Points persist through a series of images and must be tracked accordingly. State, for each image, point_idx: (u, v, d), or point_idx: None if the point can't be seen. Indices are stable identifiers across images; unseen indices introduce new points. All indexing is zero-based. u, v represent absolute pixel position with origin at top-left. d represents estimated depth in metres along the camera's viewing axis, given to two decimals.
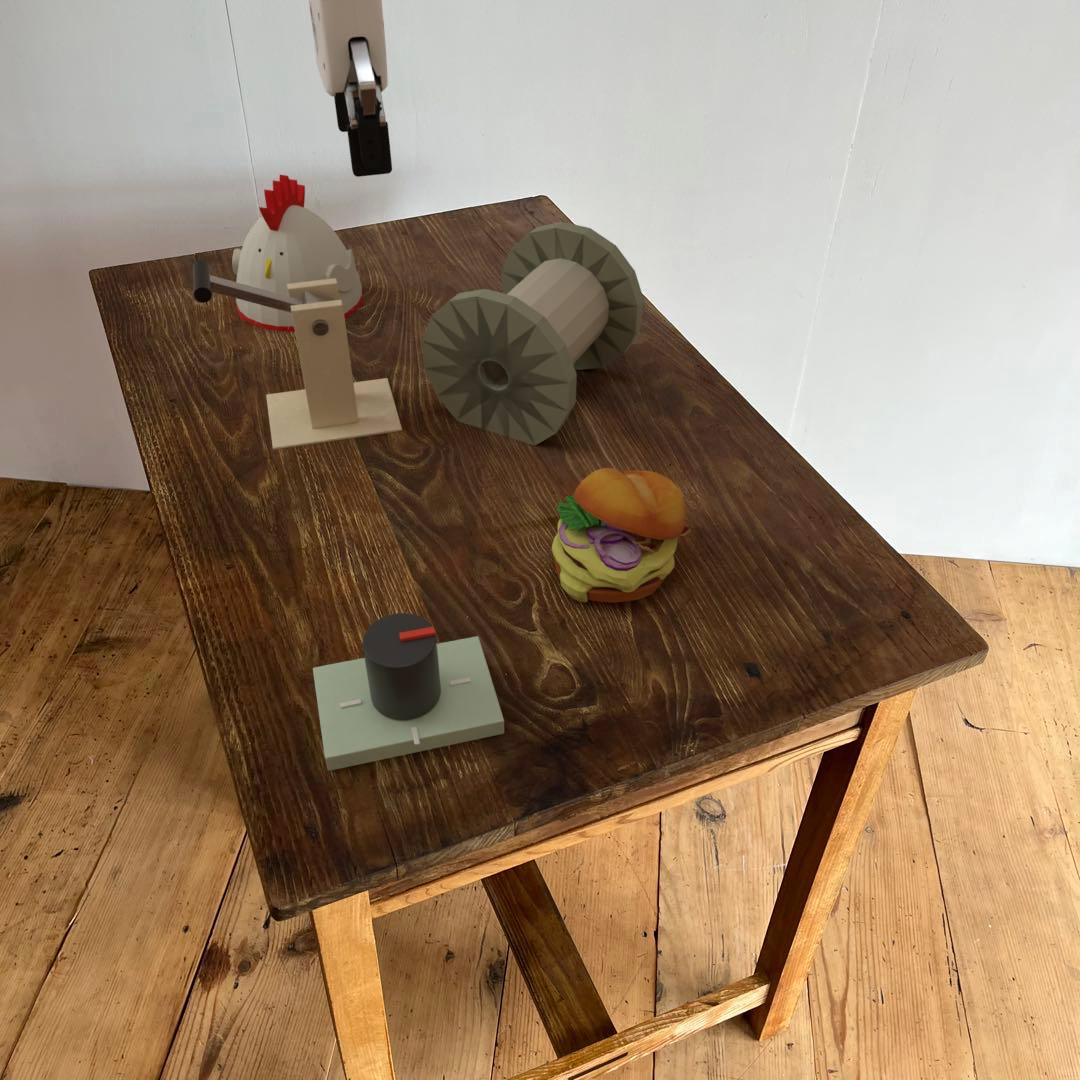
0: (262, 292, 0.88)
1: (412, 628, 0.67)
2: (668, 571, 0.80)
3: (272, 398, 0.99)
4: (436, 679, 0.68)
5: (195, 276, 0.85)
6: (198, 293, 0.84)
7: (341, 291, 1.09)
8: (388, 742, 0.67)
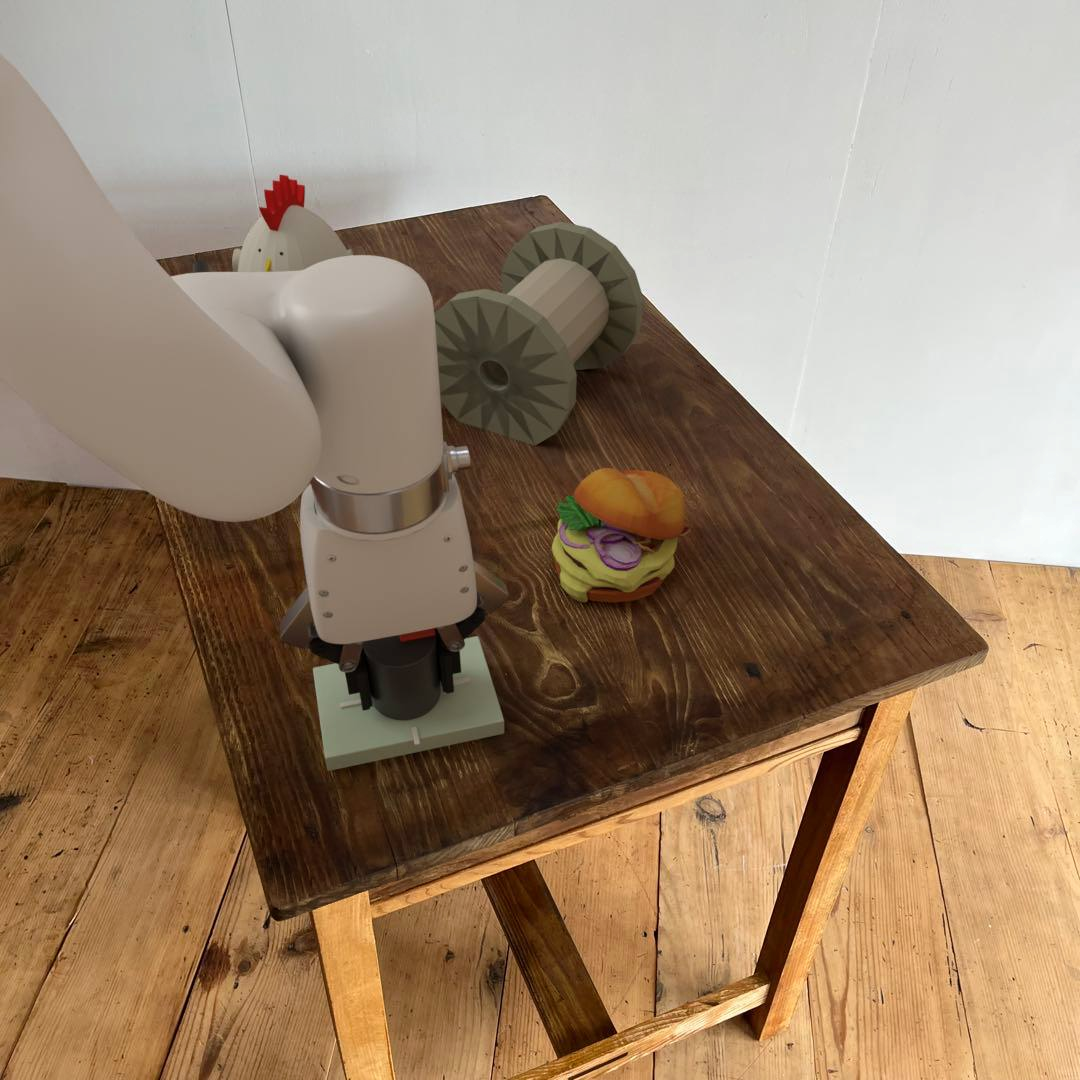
0: None
1: None
2: (668, 571, 0.80)
3: None
4: (436, 679, 0.68)
5: None
6: None
7: None
8: (388, 742, 0.67)
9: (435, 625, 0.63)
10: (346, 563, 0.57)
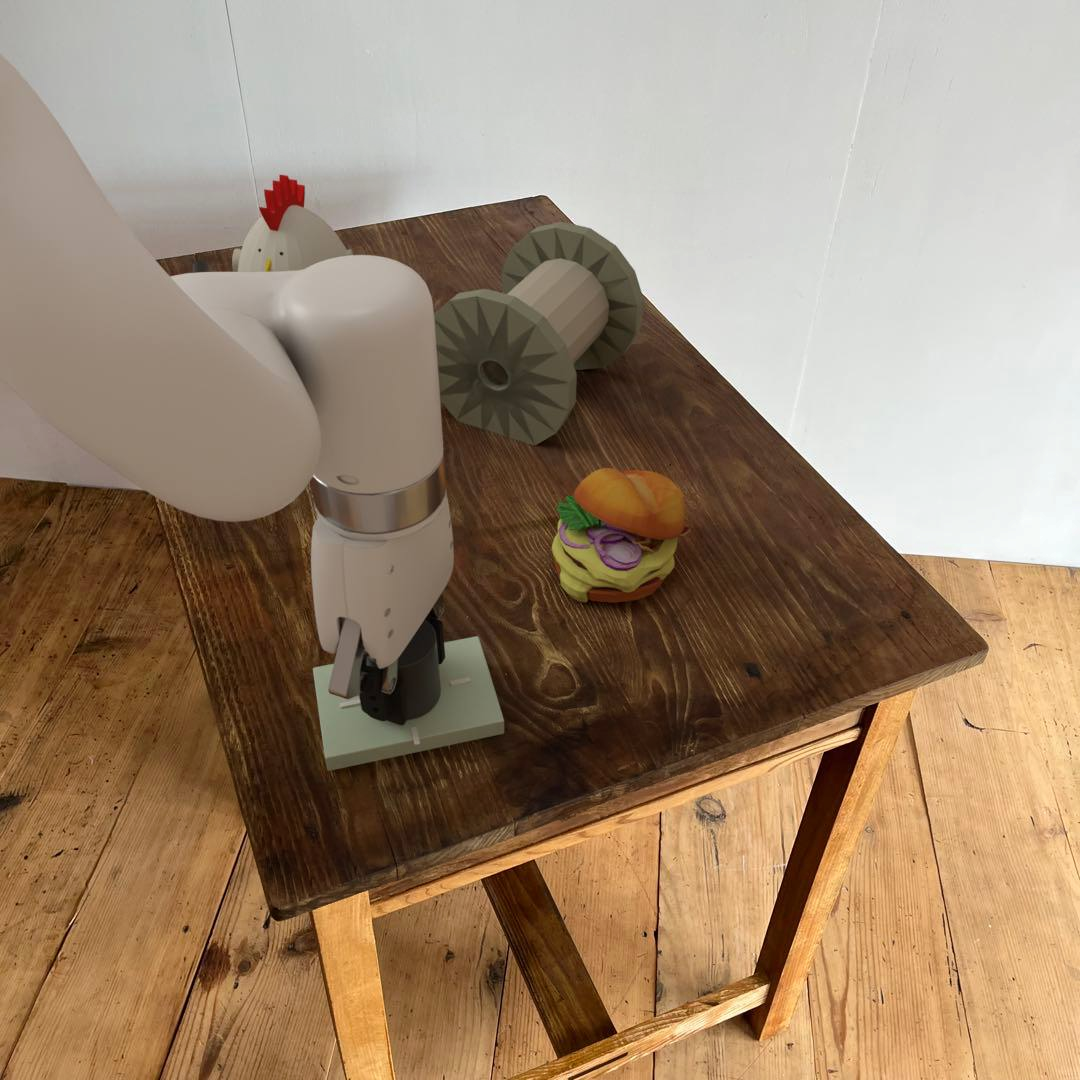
0: None
1: None
2: (668, 571, 0.80)
3: None
4: None
5: None
6: None
7: None
8: (388, 742, 0.67)
9: (439, 594, 0.65)
10: (400, 567, 0.57)
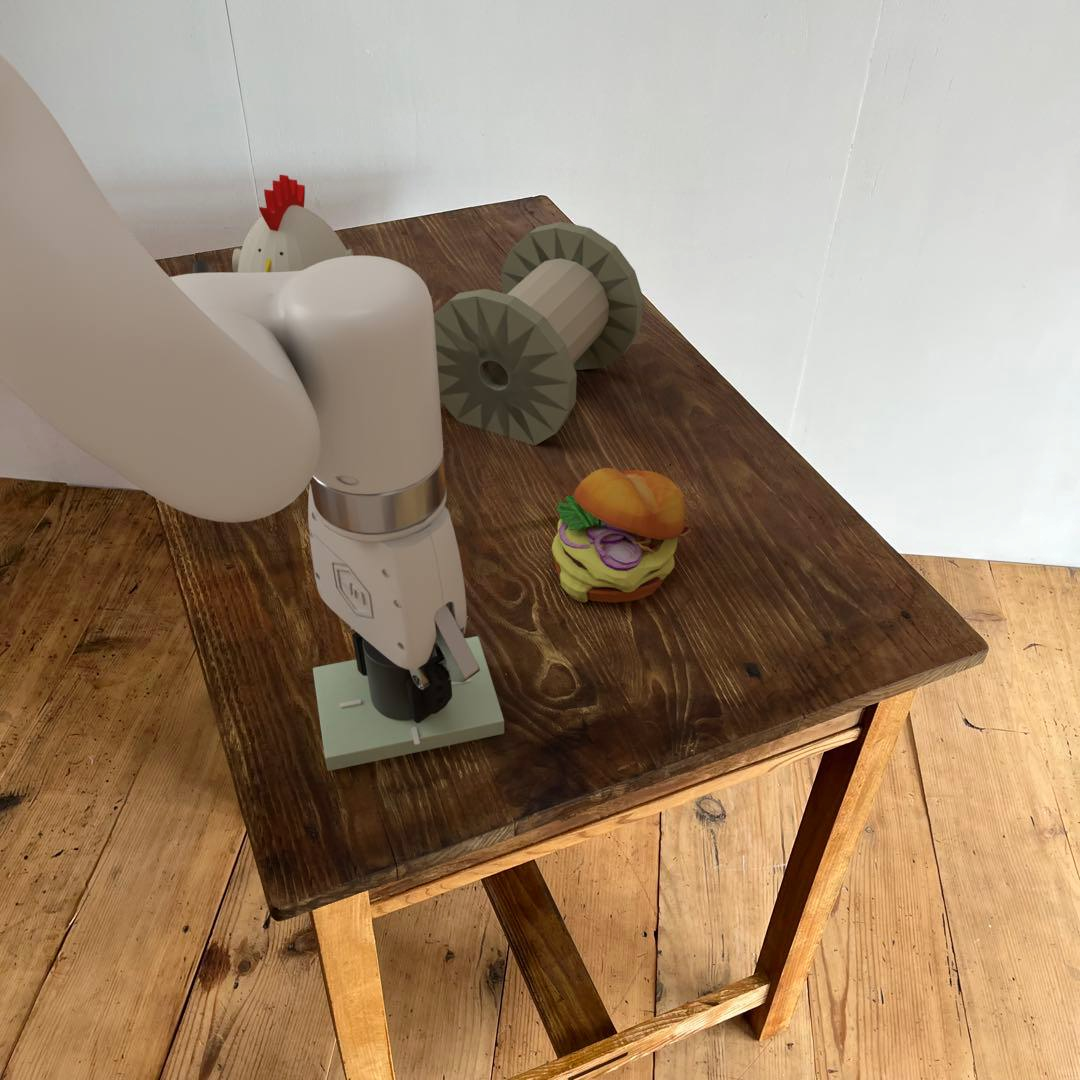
0: None
1: None
2: (668, 571, 0.80)
3: None
4: None
5: None
6: None
7: None
8: (388, 742, 0.67)
9: None
10: None
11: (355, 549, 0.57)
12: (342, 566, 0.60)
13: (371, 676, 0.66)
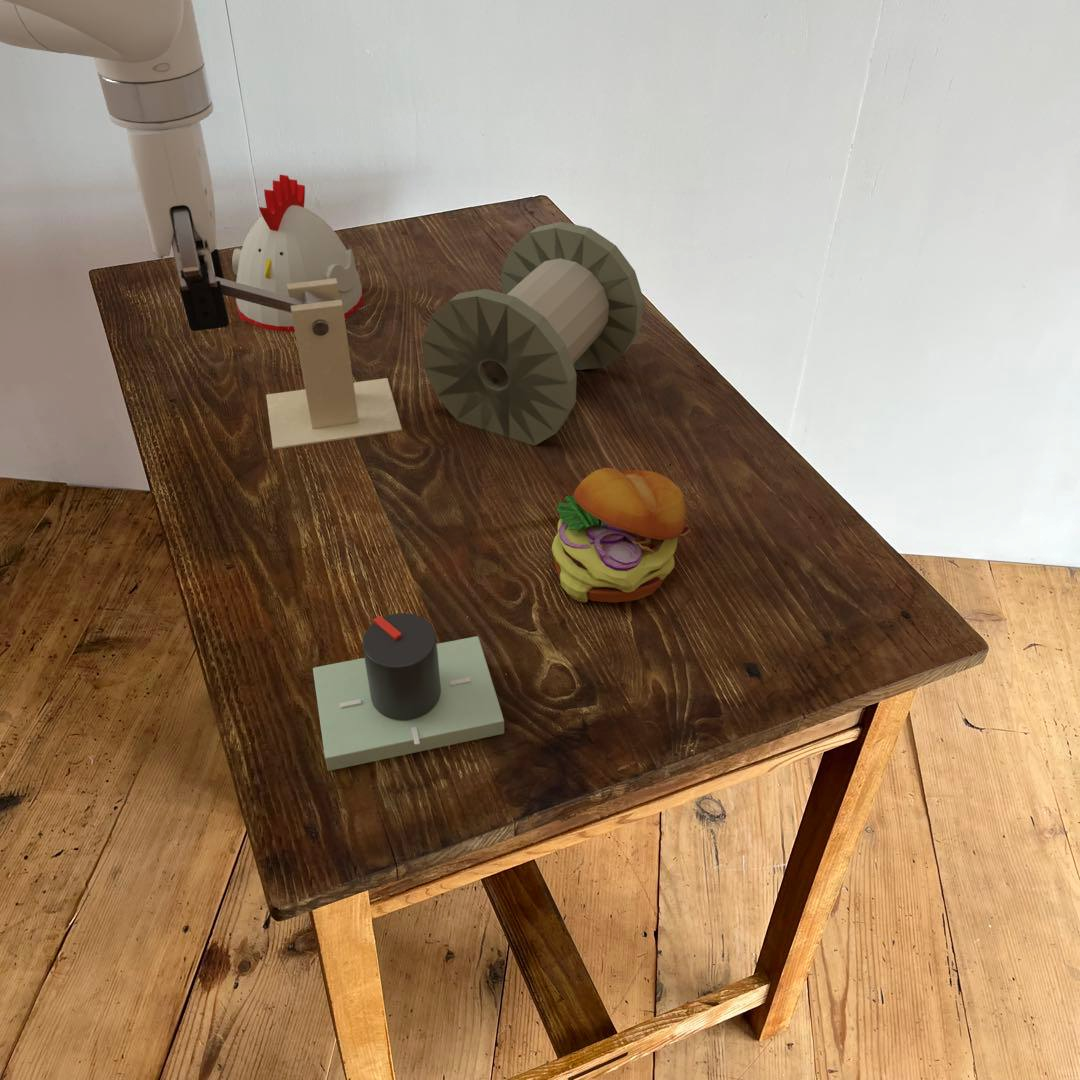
0: (262, 292, 0.88)
1: (381, 636, 0.66)
2: (668, 571, 0.80)
3: (272, 398, 0.99)
4: None
5: None
6: None
7: (341, 291, 1.09)
8: (388, 742, 0.67)
9: None
10: (201, 154, 0.77)
11: None
12: None
13: (371, 676, 0.66)
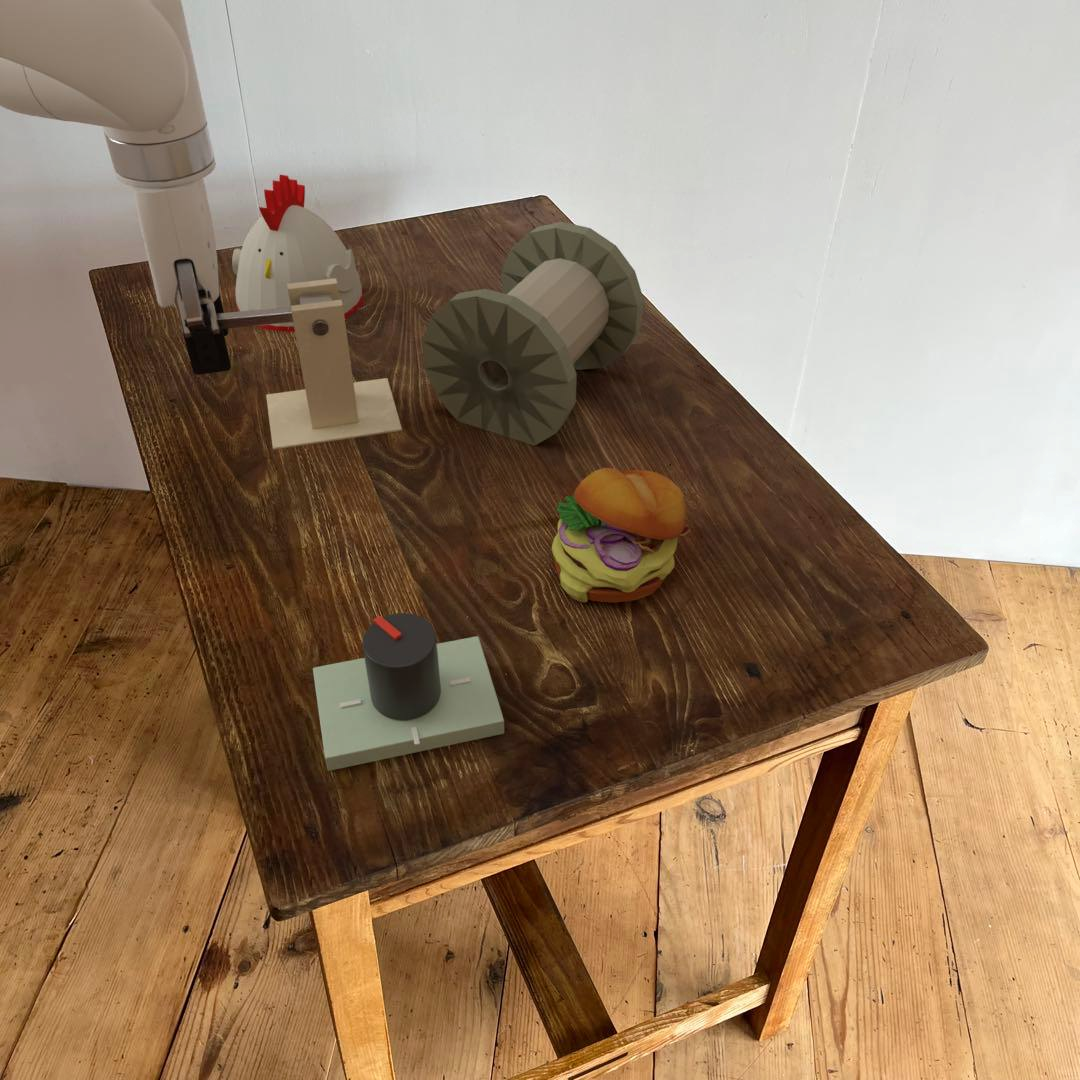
0: (258, 313, 0.89)
1: (381, 636, 0.66)
2: (668, 571, 0.80)
3: (272, 398, 0.99)
4: None
5: None
6: None
7: (341, 291, 1.09)
8: (388, 742, 0.67)
9: None
10: (204, 208, 0.79)
11: None
12: None
13: (371, 676, 0.66)
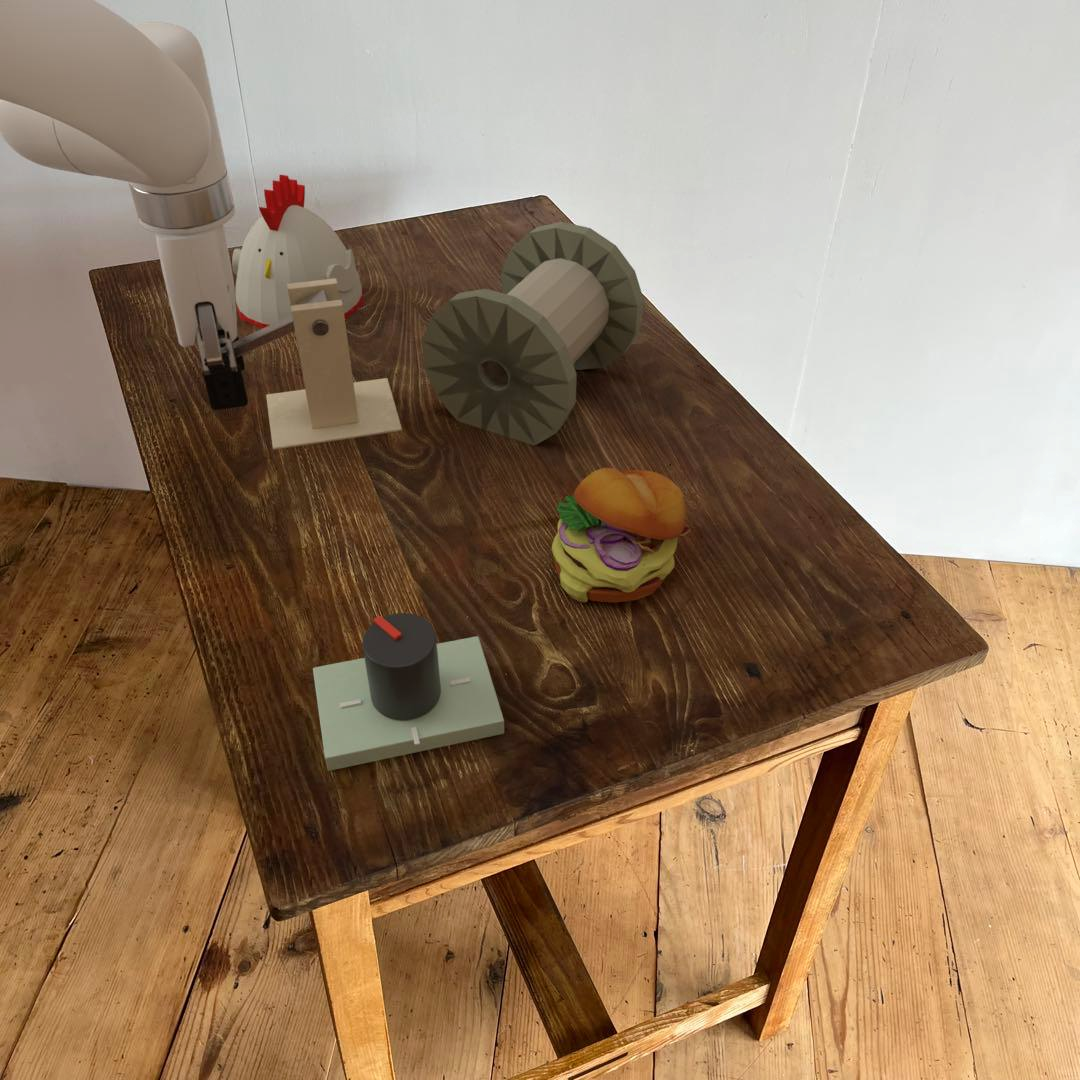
0: (263, 332, 0.90)
1: (381, 636, 0.66)
2: (668, 571, 0.80)
3: (272, 398, 0.99)
4: None
5: None
6: None
7: (341, 291, 1.09)
8: (388, 742, 0.67)
9: None
10: (224, 253, 0.82)
11: None
12: None
13: (371, 676, 0.66)
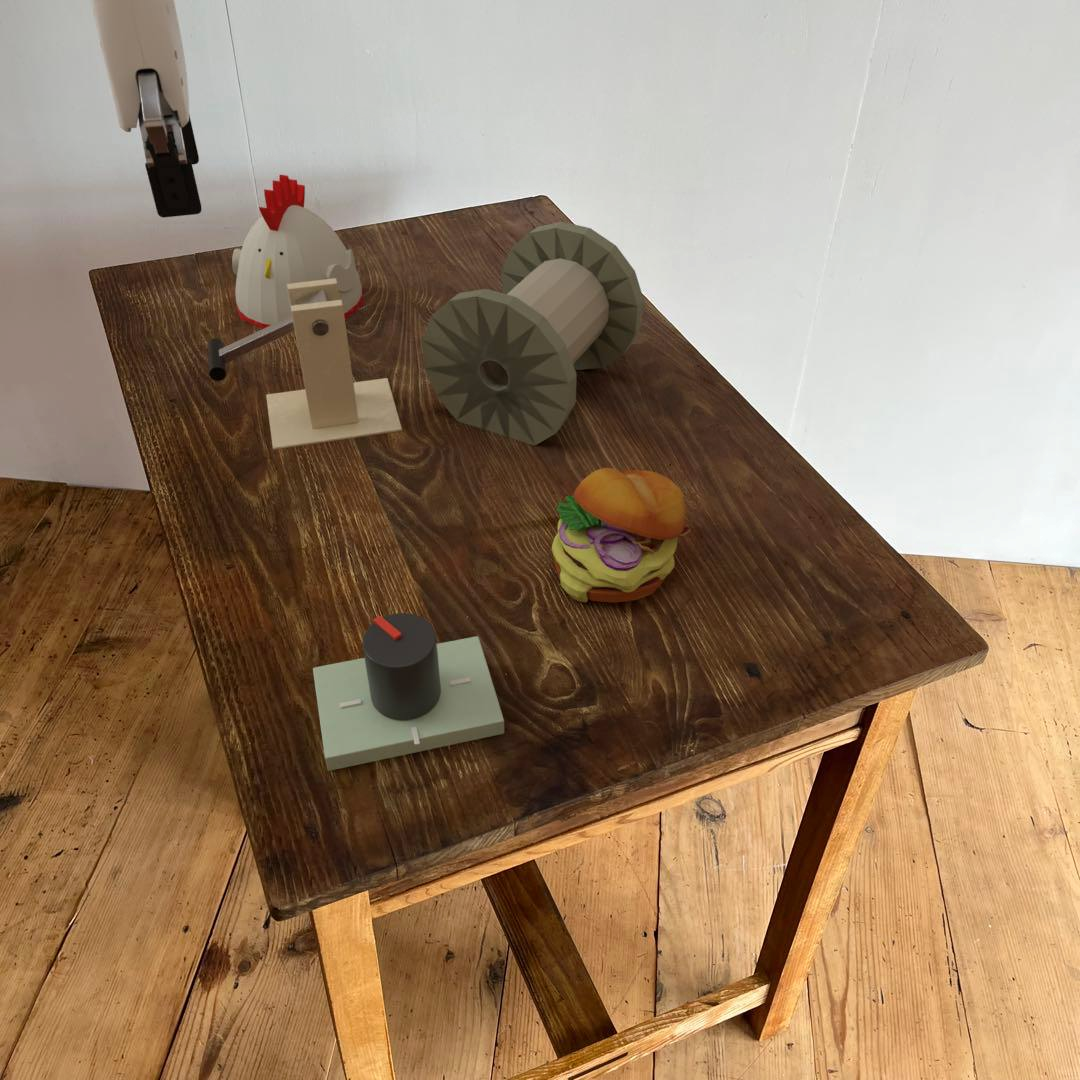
0: (263, 332, 0.90)
1: (381, 636, 0.66)
2: (668, 571, 0.80)
3: (272, 398, 0.99)
4: None
5: (208, 360, 0.90)
6: (213, 375, 0.89)
7: (341, 291, 1.09)
8: (388, 742, 0.67)
9: None
10: (171, 13, 0.70)
11: None
12: None
13: (371, 676, 0.66)
